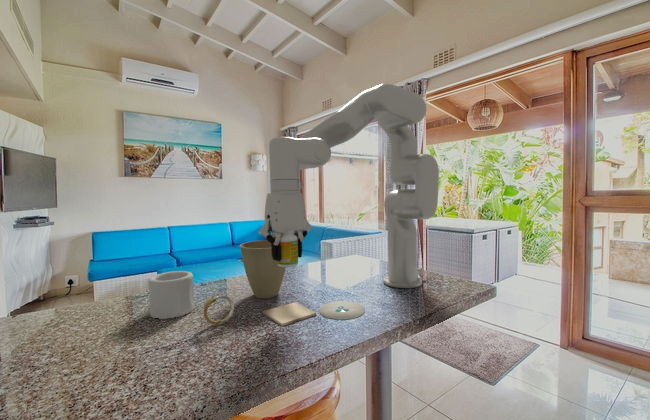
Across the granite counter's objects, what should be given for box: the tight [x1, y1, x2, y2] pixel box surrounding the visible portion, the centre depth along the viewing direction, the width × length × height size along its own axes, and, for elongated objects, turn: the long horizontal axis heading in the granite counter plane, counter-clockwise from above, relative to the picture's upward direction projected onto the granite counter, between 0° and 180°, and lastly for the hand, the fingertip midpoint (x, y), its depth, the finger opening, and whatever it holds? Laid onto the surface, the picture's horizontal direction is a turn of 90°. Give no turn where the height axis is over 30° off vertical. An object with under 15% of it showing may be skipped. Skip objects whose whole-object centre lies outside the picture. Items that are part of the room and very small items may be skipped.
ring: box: [202, 290, 235, 326], centre depth 73 cm, size 7×3×8 cm, turn 115°
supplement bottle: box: [277, 231, 299, 268], centre depth 78 cm, size 5×5×10 cm
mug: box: [147, 270, 195, 320], centre depth 83 cm, size 14×11×10 cm
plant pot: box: [239, 239, 287, 299], centre depth 94 cm, size 15×15×16 cm
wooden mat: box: [262, 301, 317, 327], centre depth 79 cm, size 10×10×1 cm
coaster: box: [318, 300, 366, 321], centre depth 81 cm, size 12×12×1 cm
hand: (287, 257), depth 78 cm, fingers closed on supplement bottle, 5 cm apart
